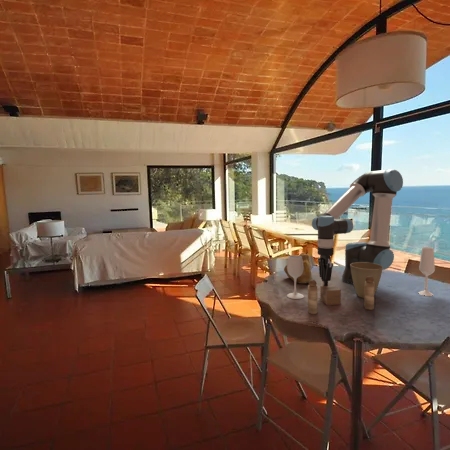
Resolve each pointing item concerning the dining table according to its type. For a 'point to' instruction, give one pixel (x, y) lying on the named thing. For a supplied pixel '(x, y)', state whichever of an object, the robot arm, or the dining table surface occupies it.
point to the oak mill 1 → (312, 297)
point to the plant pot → (365, 275)
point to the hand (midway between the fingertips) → (324, 292)
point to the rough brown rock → (306, 273)
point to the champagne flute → (427, 266)
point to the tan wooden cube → (330, 295)
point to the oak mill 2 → (369, 293)
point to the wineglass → (295, 273)
